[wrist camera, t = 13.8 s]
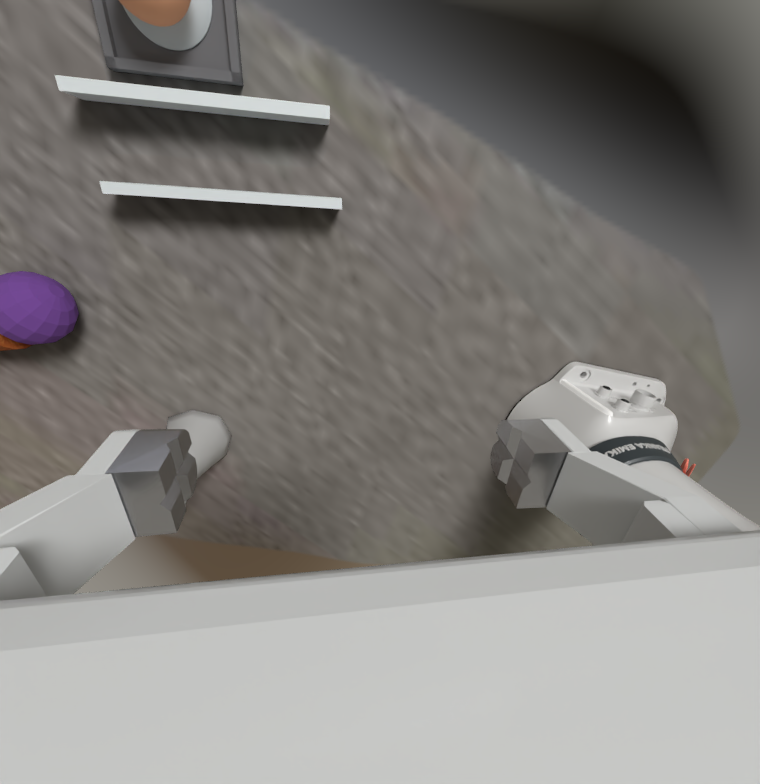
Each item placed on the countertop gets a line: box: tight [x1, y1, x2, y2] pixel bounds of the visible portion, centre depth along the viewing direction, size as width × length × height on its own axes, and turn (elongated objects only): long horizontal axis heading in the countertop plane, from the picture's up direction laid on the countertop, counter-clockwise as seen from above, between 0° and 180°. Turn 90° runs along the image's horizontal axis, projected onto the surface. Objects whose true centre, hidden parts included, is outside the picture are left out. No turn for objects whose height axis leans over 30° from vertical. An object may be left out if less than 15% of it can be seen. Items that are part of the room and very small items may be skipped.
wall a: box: [99, 181, 342, 209], centre depth 30 cm, size 18×1×3 cm, turn 86°
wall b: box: [55, 75, 330, 125], centre depth 27 cm, size 18×1×3 cm, turn 86°
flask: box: [166, 410, 231, 505], centre depth 38 cm, size 7×7×10 cm
